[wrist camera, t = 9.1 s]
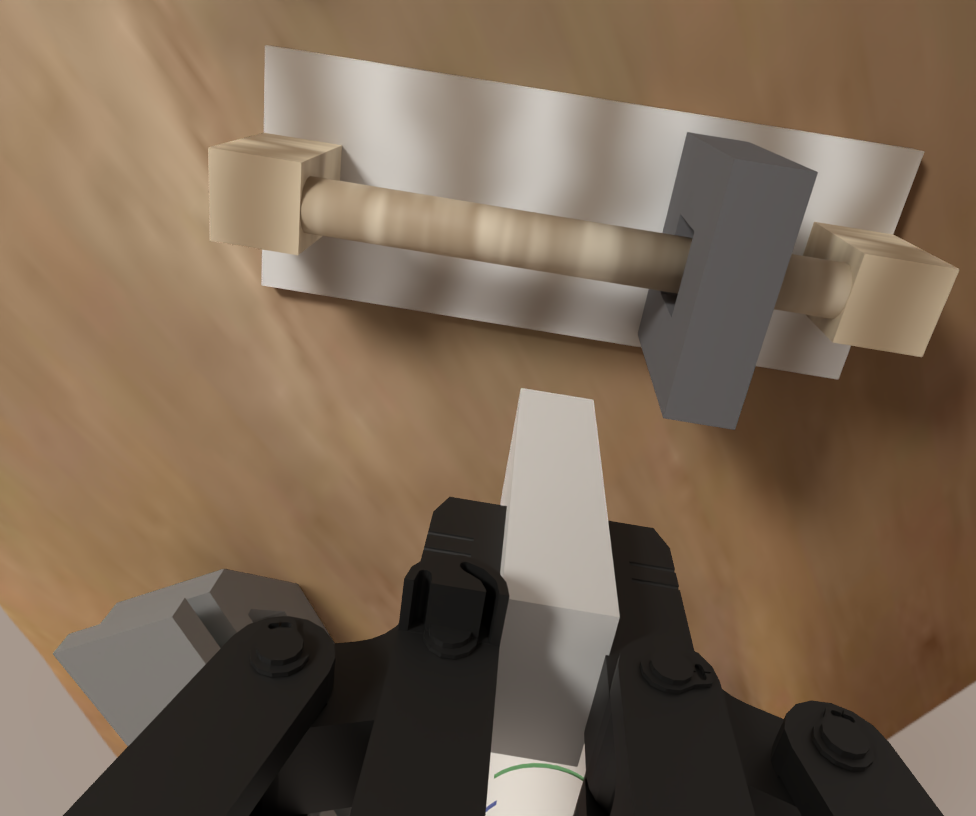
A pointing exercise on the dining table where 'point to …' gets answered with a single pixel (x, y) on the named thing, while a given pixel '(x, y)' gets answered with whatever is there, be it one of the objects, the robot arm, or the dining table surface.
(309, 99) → the rail
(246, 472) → the dining table surface
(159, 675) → the grey grooved block
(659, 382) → the collar
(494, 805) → the cylindrical container
